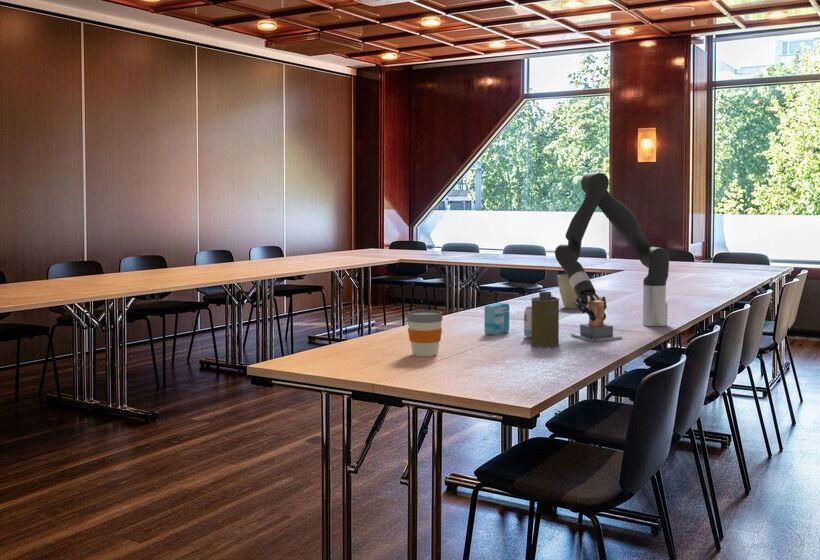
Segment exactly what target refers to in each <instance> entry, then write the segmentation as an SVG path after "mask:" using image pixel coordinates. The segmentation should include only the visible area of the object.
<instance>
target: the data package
mask: <svg viewBox="0 0 820 560" xmlns="http://www.w3.org/2000/svg"><path fill="white" fill-rule="evenodd" d="M509 331H510V305H509V303H505V302H504V303H503V302H497V303H490V304H486V305H485V306H484V334H485V335H486V336H487V335H488V336H499V335H503V334H506V333H509Z"/></svg>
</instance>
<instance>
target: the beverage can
mask: <svg viewBox="0 0 820 560" xmlns="http://www.w3.org/2000/svg"><path fill="white" fill-rule="evenodd" d="M523 336H525V337H526V339H531V340H532V306H526V307H525V309H524V312H523Z"/></svg>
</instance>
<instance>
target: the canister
mask: <svg viewBox="0 0 820 560" xmlns="http://www.w3.org/2000/svg"><path fill="white" fill-rule="evenodd" d="M538 294H539V296H538V297H532V298H530V301H531V307H532V339H531V343H530V345H531V346H532V347H536V348H537V347H538V348H556V347H558V346H560V341H559V338H560V335H559V333H560V332H559V329H560V325H559V324H560V323H559V322H560V319H559V318H560V317H559V316H560V306H559V305H560V298H559V297H556V296H553V295H552V292H551V291H540V292H538Z"/></svg>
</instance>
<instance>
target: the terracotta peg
mask: <svg viewBox="0 0 820 560" xmlns="http://www.w3.org/2000/svg"><path fill="white" fill-rule="evenodd" d="M589 303H590V306H591V308H592V310H591V311H593V313H594V315H595V316H596V320H595V321H592V320H591V319H590V317H589V316H588V324H589V325H590V326H594V327H596V326H604V324H605V323H604V322H605V320H604V313H605V311H604V301H599V300H595V301H589Z"/></svg>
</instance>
